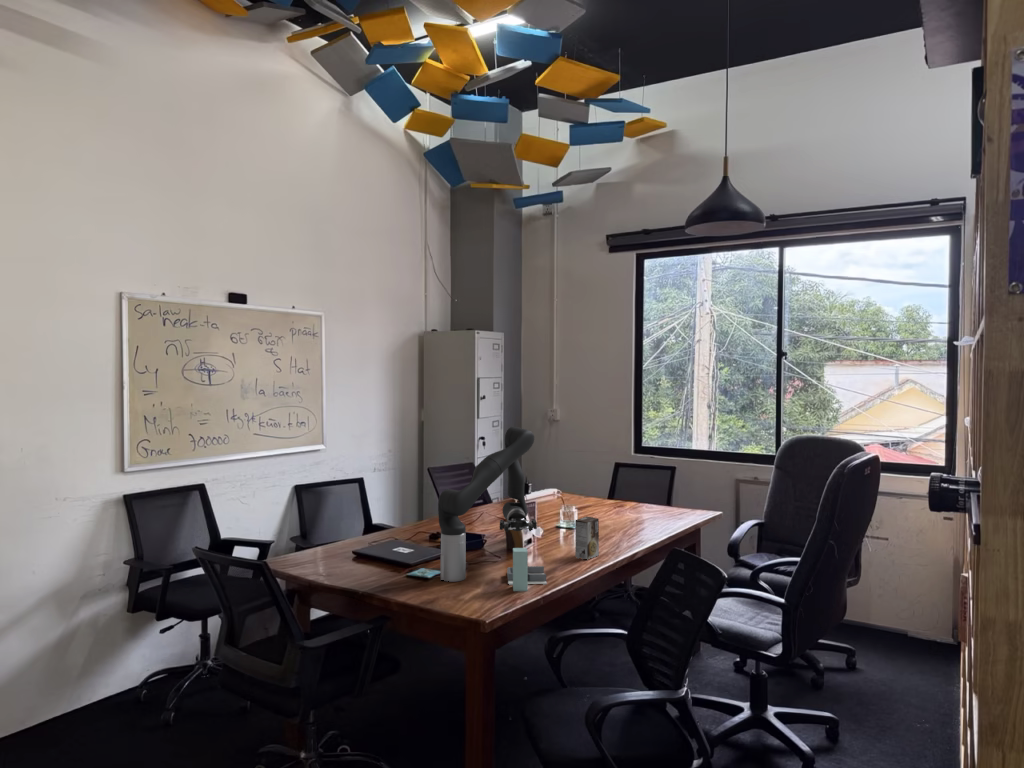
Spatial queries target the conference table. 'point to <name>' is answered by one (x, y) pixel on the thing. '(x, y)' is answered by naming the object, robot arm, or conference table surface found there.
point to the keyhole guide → (530, 575)
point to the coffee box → (586, 537)
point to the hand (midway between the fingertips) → (518, 529)
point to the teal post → (520, 569)
